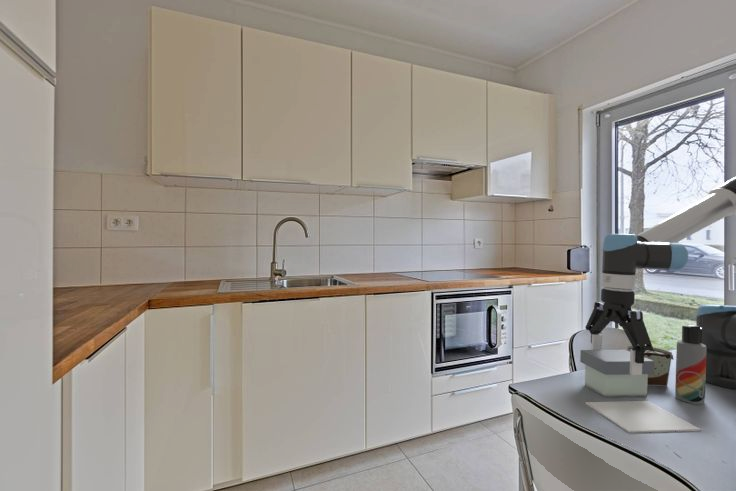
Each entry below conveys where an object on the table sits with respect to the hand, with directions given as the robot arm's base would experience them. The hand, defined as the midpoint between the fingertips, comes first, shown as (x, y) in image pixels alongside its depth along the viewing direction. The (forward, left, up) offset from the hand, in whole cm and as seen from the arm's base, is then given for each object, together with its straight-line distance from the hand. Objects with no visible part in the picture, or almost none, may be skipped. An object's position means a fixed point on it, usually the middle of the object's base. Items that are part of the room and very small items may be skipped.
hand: (614, 364), depth 94 cm
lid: (0, 0, -1) cm, 1 cm away
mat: (+5, +14, -7) cm, 16 cm away
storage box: (0, 0, -7) cm, 7 cm away
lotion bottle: (-16, +6, -8) cm, 19 cm away
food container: (-14, -6, -8) cm, 17 cm away
